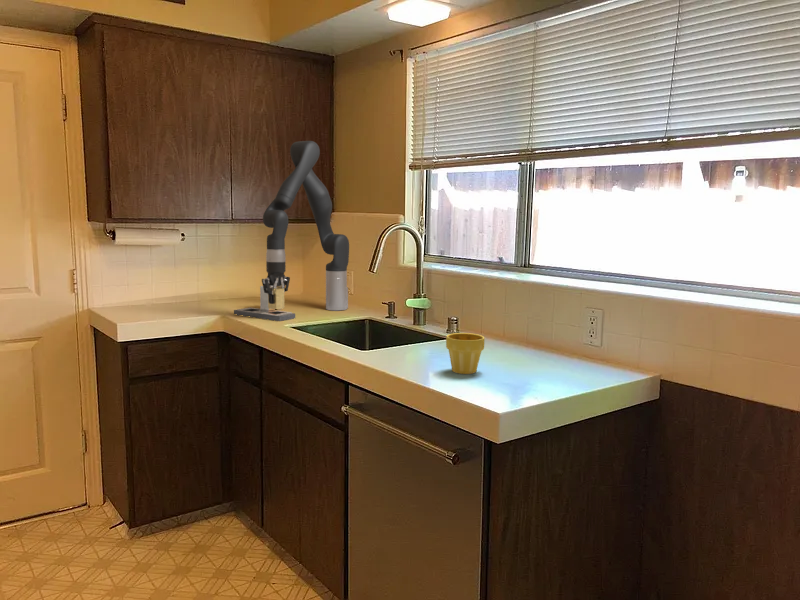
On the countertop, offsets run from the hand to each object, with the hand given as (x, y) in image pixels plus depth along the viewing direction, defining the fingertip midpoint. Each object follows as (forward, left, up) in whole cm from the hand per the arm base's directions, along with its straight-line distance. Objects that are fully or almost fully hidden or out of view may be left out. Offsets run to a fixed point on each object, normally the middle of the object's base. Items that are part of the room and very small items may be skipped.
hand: (276, 302), depth 259 cm
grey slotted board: (0, -7, -6) cm, 9 cm away
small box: (-16, -19, -7) cm, 26 cm away
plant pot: (+32, +103, -7) cm, 108 cm away
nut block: (0, 0, -2) cm, 2 cm away
